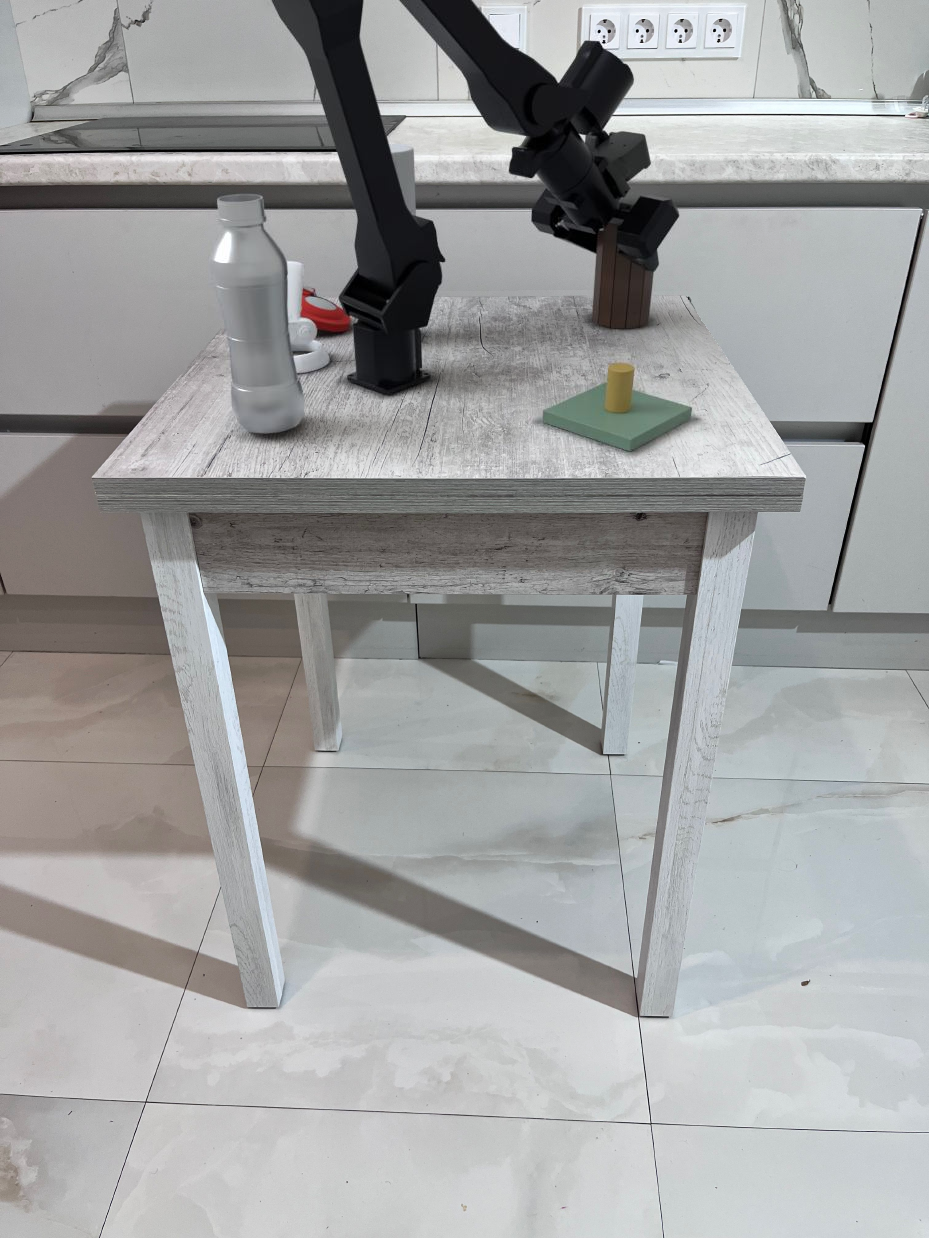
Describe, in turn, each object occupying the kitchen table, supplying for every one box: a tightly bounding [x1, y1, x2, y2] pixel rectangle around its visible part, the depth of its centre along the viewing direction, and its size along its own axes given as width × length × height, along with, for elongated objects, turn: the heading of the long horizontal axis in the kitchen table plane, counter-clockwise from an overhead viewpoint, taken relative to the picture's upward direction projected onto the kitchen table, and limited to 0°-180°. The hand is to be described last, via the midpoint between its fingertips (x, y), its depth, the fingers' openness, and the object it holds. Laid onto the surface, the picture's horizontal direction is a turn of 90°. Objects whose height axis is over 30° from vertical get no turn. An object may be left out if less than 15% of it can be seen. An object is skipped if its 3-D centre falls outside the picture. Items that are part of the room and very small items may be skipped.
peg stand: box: [542, 362, 693, 452], centre depth 87 cm, size 10×10×5 cm
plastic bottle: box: [208, 193, 306, 434], centre depth 82 cm, size 6×7×20 cm
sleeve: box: [591, 224, 655, 330], centre depth 111 cm, size 7×7×12 cm
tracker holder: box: [300, 284, 352, 333], centre depth 113 cm, size 12×4×10 cm
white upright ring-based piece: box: [286, 260, 331, 374], centre depth 102 cm, size 8×12×7 cm
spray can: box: [387, 143, 417, 303], centre depth 104 cm, size 6×6×20 cm
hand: (633, 262), depth 111 cm, fingers closed on sleeve, 7 cm apart
